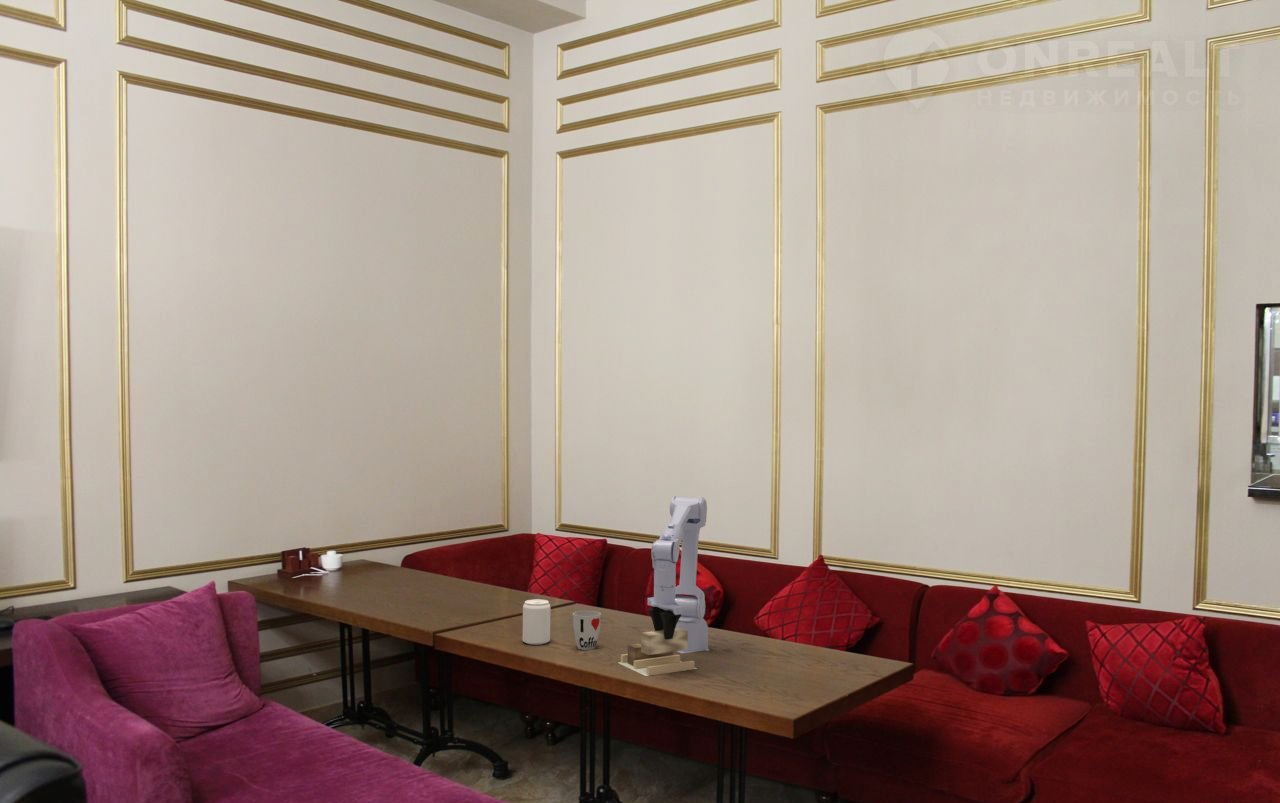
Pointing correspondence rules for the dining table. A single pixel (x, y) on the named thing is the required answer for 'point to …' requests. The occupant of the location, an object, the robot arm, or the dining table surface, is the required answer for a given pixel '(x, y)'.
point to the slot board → (658, 665)
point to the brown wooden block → (641, 654)
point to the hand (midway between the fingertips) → (664, 637)
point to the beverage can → (536, 622)
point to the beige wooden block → (663, 642)
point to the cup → (586, 629)
